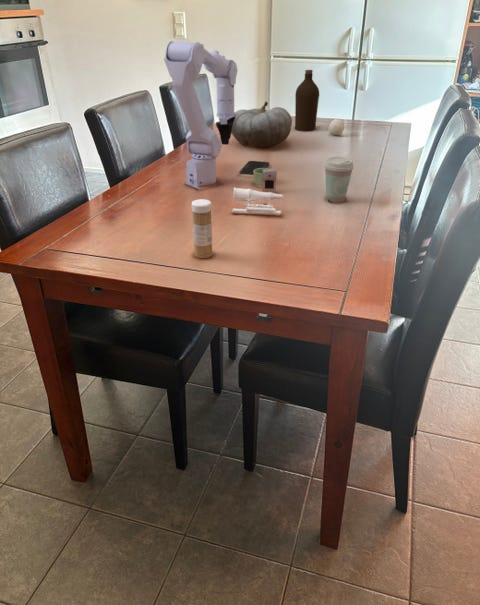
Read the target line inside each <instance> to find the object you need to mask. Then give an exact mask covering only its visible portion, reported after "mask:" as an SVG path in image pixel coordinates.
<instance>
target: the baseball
mask: <svg viewBox="0 0 480 605" xmlns="http://www.w3.org/2000/svg"><path fill="white" fill-rule="evenodd" d="M344 130H345V123H344V122H343V120H342V119H339V118H334V119H332V120H331V121H330V122H329V124H328V132H329V134H330V135H333V136H340V135H341V134H342V133H343V132H344Z"/></svg>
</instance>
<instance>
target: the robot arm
mask: <svg viewBox="0 0 480 605" xmlns="http://www.w3.org/2000/svg"><path fill="white" fill-rule="evenodd" d="M163 60H164V64H165V66H166V69H167V72H168V74H169V76H170V78H171V80H172V85H173V88H174V90H175V93H176V96H177V100H178V101H179V104H180V107H181V109H182V112H183V115H184V118H185V120H186V123H187V126H188V128H189V130H188V131H187V133H186V136H185V141H186V148H187V151H188V153H189V154H190V155H191V156H190V157H191V159H189V160H187V162H185V175H186V176H185V177H186V182H185V185H187V186H189V187H191V188H195V190H200V189H201V187H203V186H209V185H213V184H216V183H217V161H216V160H217V157H219V155H220V154H221V151H222V145H229V142H230V140H231V137H232V133H231V132H232V126H233V122H234V120H235V116H238V113H235V85H236V83H237V76H238V66H237V63H236V61H235V60H234V59H228V58H226V56H225V55H221V54H220V51H218V50H212V51H208V50H207V49H206V48H205V46H204V43H203V44H202V43H200V42H198V41H197V42H184V41H173V40H169V41H168V42H167V43H166V45H165V48H164V55H163ZM202 67H204V69H205V70H206V71H208V72H209V73H211V74H212V76H213V78H214V79H216V111H217V112H216V117H217V118H218V120H219V121H216V122H215V126H216V128H217V130H218V133H219V136H218V135H217V132H216V131H215V130H214V129H212V128H210V127H209V126H208V124H207V121H206V118H205V114H204V112H203V110H202V106H201V104H200V100H199V97H198V94H197V92H196V88H195V86H194V82H195V81H196V80H198V79H199V77H200V74H201V69H202Z"/></svg>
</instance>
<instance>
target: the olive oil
mask: <svg viewBox="0 0 480 605" xmlns="http://www.w3.org/2000/svg"><path fill="white" fill-rule="evenodd" d="M304 72H305V73H304V78H303V81H302V82H301V83H300V84H299V85H298V86H297V87H296V90H295V93H294V94H295V100H294V102H295V104H294V107H295V108H294V115H295V116H294V130H296V131H300V132H313V131H315V130H316V127H317V116H318V108H319V102H320V89H319V87H318V85H317V84H316V82H315V81H314V80H313V72H314V71H313V69H305V71H304Z"/></svg>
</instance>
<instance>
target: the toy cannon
mask: <svg viewBox="0 0 480 605" xmlns="http://www.w3.org/2000/svg"><path fill="white" fill-rule="evenodd" d="M283 199H284V194H283V193H282V194H280V193H279V194H278V193H274V192H262V191H259V190H255V189H252V188H238V187H236V186H235V187H233V193H232V201H233V203H236V202H244V208H234V207H232V211H231V213H232V214H240V215H241V214H242V215H245V214H246V215H263V216H280V217H281V216H282V210H276V207H274V205H273V204H270V203H271V201H272V200H283ZM259 200H261V201H268V204H263V203H259V202H258V201H259ZM253 201H257V202H256V204H254V203H251V202H253Z"/></svg>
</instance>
